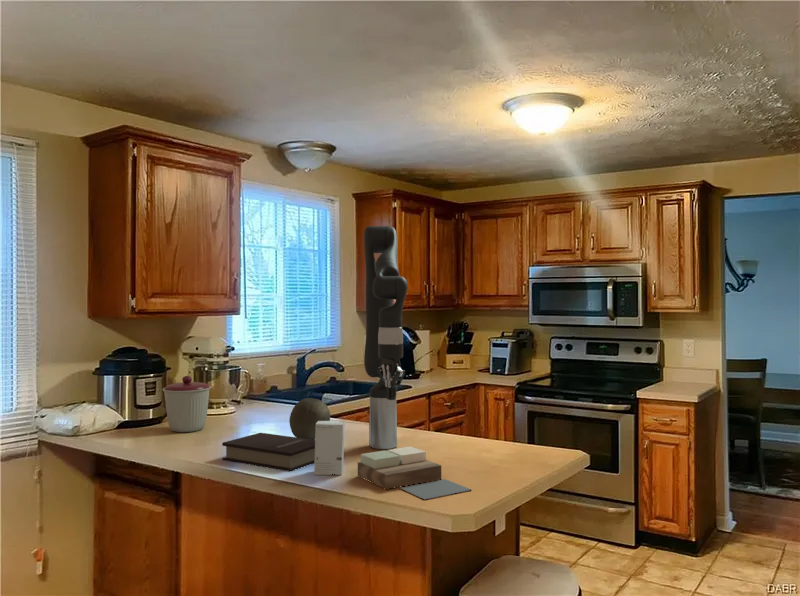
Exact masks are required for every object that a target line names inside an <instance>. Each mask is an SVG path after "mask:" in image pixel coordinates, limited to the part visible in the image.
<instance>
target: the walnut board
mask: <svg viewBox="0 0 800 596" xmlns="http://www.w3.org/2000/svg"><path fill="white" fill-rule="evenodd" d="M358 476H360V477H362V478H365V479H367V480H369V481H371V482H373V483H375V484H377V485H379V486H381V487H383V488H385V489H389V488H394V487H399V488H400V486H406V485H410V486H411V485H412V484H415V485H416V484H418V483H423V482H426V483H427V482H428V481H431V482H432V481H434V480H436V481H437V480H440V479H441V480H442V465H441V464H439V463H437V462H434V461H431V460H428V459H426V460H425V461H419V462H413V463H407V464H400V463H399V465H395V466H389V467H383V468H377V469H374V468H372V467H369V466H367V465H365V464H362V463H361V461H358V462H357V477H358ZM360 477H359V478H360ZM362 478H361V479H362ZM365 479H364V480H365ZM367 480H366V481H367ZM369 481H368V482H369ZM371 482H370V483H371ZM373 483H372V484H373ZM375 484H374V485H375ZM377 485H376V486H377ZM379 486H378V487H379ZM381 487H380V488H381ZM383 488H382V489H383ZM385 489H384V490H385ZM394 489H395V488H394ZM389 490H390V489H389Z"/></svg>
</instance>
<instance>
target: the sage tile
mask: <svg viewBox="0 0 800 596" xmlns="http://www.w3.org/2000/svg"><path fill="white" fill-rule="evenodd" d="M360 462H361V463H362V464H365V465H367V466H369V467H372V468H374V469H377V468H383V467H389V466H395V465H399V456H398V455H396V454H393V453H390V452H388V450H386V449H383V450H380V451H379V450H378V451H372V452H366V453H360Z"/></svg>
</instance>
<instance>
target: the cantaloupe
mask: <svg viewBox="0 0 800 596" xmlns="http://www.w3.org/2000/svg"><path fill="white" fill-rule="evenodd" d="M318 421H331V412H330V409H329V407H328V405H327V404H326V403H325V402H323V401H322V400H320V399H319V398H312V397H310V398H309V397H308V398H303V399H300V400H299V401H298V402H297V403H295V405H294V407H292V410H291V412H290V414H289V427H290V430H291V433H292V435H293V437H297V438H304V439H312V440H315V429H316V423H317V422H318Z"/></svg>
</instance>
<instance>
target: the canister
mask: <svg viewBox="0 0 800 596" xmlns="http://www.w3.org/2000/svg"><path fill="white" fill-rule="evenodd" d="M181 379H182V382H177V383H176V382H175V383H170V384H168V385H166V386H165V387H163V388H162V391H163V392H164V393H163V394H164V401H165V409H166V417H167V423H168V427H169V429H170V430H171V431H172V432H175V433H193V432H196V431H201V430H203V429H204V428H205V427H206V422H207V418H208V409H209V399H210V390H211V389H212V385H209V384H208V383H206V382H199V381H192V380H193V378H192V377H191V376H190V375H185V376H183V377H182V378H181Z"/></svg>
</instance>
